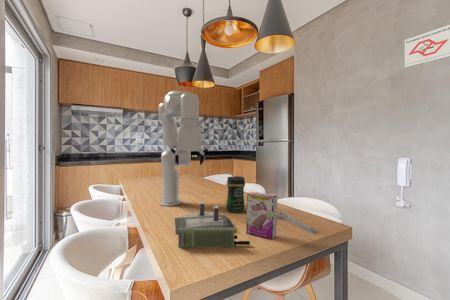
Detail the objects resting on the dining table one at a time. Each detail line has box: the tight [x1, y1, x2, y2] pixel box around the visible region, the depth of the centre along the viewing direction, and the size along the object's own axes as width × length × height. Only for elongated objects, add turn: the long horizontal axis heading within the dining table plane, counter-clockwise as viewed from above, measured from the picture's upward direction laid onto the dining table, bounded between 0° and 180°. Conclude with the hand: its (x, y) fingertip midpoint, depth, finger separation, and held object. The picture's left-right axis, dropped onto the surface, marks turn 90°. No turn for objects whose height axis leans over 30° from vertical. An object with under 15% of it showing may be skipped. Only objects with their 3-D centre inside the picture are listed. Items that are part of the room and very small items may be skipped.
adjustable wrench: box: [277, 211, 317, 234], centre depth 102 cm, size 25×6×2 cm, turn 17°
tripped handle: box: [199, 201, 205, 215], centre depth 102 cm, size 2×2×6 cm
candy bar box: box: [245, 191, 278, 240], centre depth 88 cm, size 11×5×16 cm, turn 59°
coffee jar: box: [225, 175, 246, 213], centre depth 120 cm, size 10×8×19 cm
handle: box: [213, 205, 220, 221], centre depth 95 cm, size 2×2×6 cm
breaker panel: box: [174, 211, 235, 235], centre depth 98 cm, size 15×24×4 cm, turn 104°
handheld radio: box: [177, 226, 251, 249], centre depth 78 cm, size 7×3×25 cm
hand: (189, 164), depth 94 cm, fingers open, 9 cm apart
